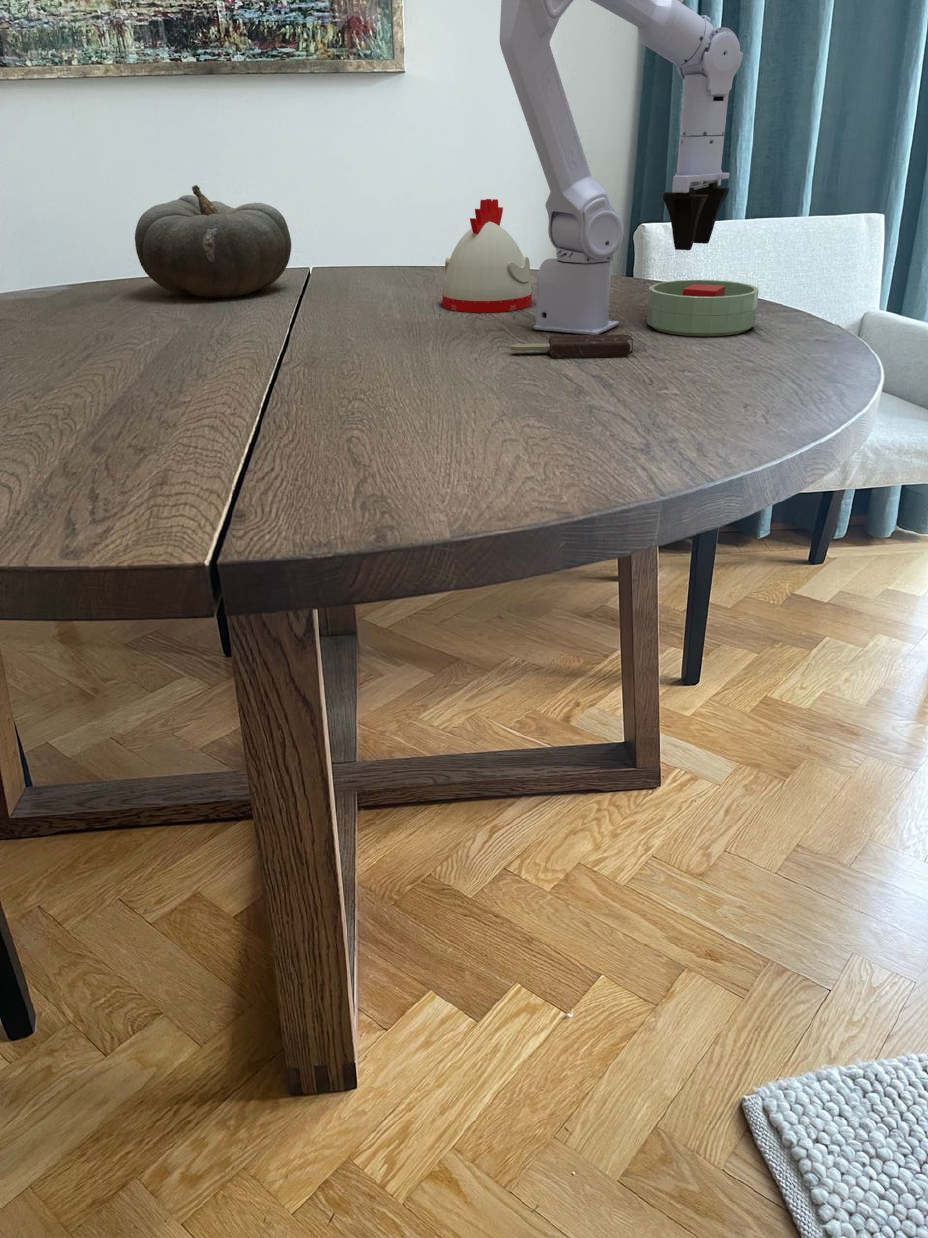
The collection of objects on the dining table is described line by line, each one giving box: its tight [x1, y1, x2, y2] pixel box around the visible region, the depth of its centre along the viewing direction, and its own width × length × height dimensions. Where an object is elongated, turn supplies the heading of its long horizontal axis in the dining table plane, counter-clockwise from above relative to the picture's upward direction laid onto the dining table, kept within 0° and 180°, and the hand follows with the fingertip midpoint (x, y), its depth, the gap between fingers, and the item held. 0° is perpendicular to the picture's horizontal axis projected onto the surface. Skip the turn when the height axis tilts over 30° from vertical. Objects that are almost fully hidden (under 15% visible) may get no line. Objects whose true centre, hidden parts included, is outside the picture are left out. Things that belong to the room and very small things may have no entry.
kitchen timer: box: [441, 198, 533, 314], centre depth 141 cm, size 14×14×15 cm
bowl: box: [646, 279, 760, 337], centre depth 126 cm, size 14×14×5 cm
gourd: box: [134, 184, 292, 299], centre depth 157 cm, size 25×25×17 cm
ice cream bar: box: [510, 333, 634, 359], centre depth 114 cm, size 5×2×15 cm
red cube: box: [683, 284, 725, 297], centre depth 125 cm, size 4×4×5 cm
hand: (692, 246), depth 129 cm, fingers open, 7 cm apart
